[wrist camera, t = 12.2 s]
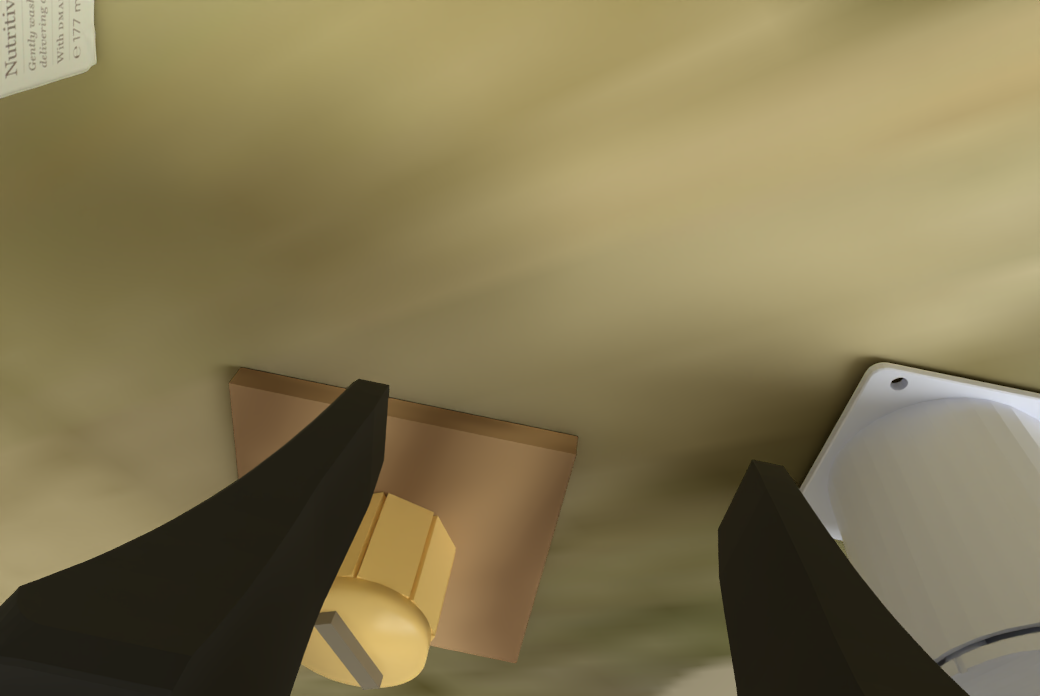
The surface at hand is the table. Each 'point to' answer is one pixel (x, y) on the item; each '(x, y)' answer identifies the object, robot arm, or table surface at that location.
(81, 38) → the skincare box
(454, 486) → the post board
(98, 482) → the table surface
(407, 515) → the cap
